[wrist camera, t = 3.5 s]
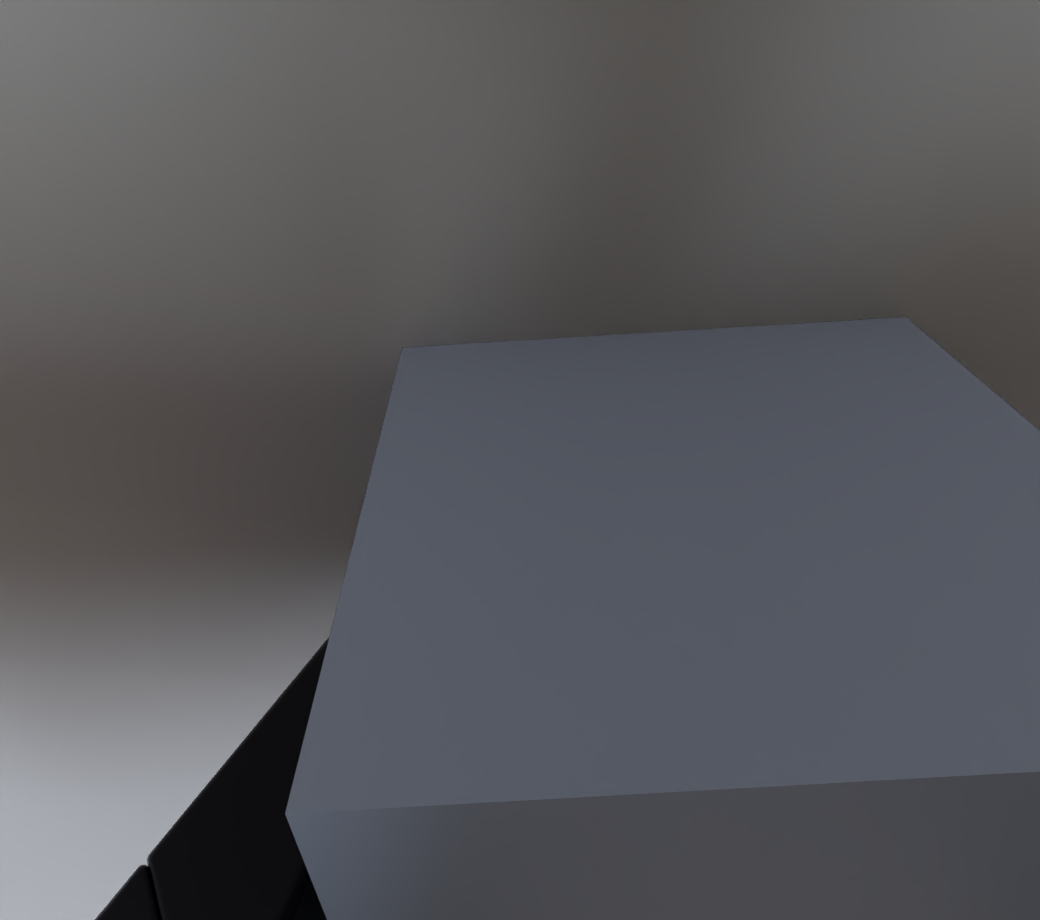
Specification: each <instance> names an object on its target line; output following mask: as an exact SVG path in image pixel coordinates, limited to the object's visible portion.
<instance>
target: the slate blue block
mask: <svg viewBox="0 0 1040 920" xmlns="http://www.w3.org/2000/svg"><path fill="white" fill-rule="evenodd" d="M285 815H286V818H287V820H288V823H289V825H290V828H291V830H292V833H293V835H294V838H295V840H296V843H297V845H298V848H299V850H300V853H301V855H302V858H303V860H304V863H305V866H306V868H307V871H308V873H309V876H310V878H311V881H312V883H313V886H314V888H315V891H316V893H317V896H318V898H319V901H320V903H321V906H322V908H323V911H324V913H325V916H326V918H327V920H1040V431H1039V430H1038V429H1037V428H1036V427H1035V426H1034V425H1032V424H1031V423H1030V422H1029V421H1028V420H1027V419H1025V418H1024V417H1023V416H1022V415H1021V414H1019V413H1018V412H1017V411H1016V410H1015V409H1014V408H1012V407H1011V406H1010V405H1009V404H1008V403H1007V402H1005V401H1004V400H1003V399H1002V398H1001V397H999V396H998V395H997V394H996V393H995V392H994V391H992V390H991V389H990V388H989V387H988V386H987V385H985V384H984V383H983V382H982V381H981V380H979V379H978V378H977V377H976V376H975V375H974V374H972V373H971V372H970V371H969V370H968V369H967V368H965V367H964V366H963V365H962V364H961V363H959V362H958V361H957V360H956V359H955V358H954V357H952V356H951V355H950V354H949V353H948V352H947V351H945V350H944V349H943V348H942V347H941V346H939V345H938V344H937V343H936V342H935V341H934V340H932V339H931V338H930V337H929V336H928V335H927V334H925V333H924V332H923V331H922V330H921V329H919V328H918V327H917V326H916V325H915V324H914V323H912V322H911V321H910V320H909V319H908V318H907V317H896V318H880V319H863V320H847V321H830V322H814V323H797V324H781V325H764V326H748V327H731V328H715V329H698V330H682V331H665V332H649V333H632V334H616V335H599V336H583V337H566V338H550V339H533V340H517V341H500V342H484V343H467V344H451V345H434V346H418V347H402V351H401V355H400V359H399V363H398V367H397V371H396V375H395V379H394V382H393V386H392V390H391V394H390V398H389V402H388V406H387V410H386V414H385V418H384V422H383V426H382V430H381V434H380V438H379V442H378V446H377V450H376V454H375V458H374V462H373V466H372V470H371V474H370V478H369V482H368V486H367V490H366V494H365V498H364V502H363V506H362V510H361V514H360V518H359V522H358V526H357V530H356V534H355V538H354V542H353V546H352V549H351V553H350V557H349V561H348V565H347V569H346V573H345V577H344V581H343V585H342V589H341V593H340V597H339V601H338V605H337V609H336V613H335V617H334V621H333V625H332V629H331V633H330V637H329V641H328V645H327V649H326V653H325V657H324V661H323V665H322V669H321V673H320V677H319V681H318V685H317V689H316V693H315V697H314V701H313V705H312V709H311V712H310V716H309V720H308V724H307V728H306V732H305V736H304V740H303V744H302V748H301V752H300V756H299V760H298V764H297V768H296V772H295V776H294V780H293V784H292V788H291V792H290V796H289V800H288V804H287V808H286V812H285Z"/></svg>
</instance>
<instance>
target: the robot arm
mask: <svg viewBox="0 0 1040 920" xmlns="http://www.w3.org/2000/svg"><path fill="white" fill-rule="evenodd" d="M329 637H330V636H329ZM328 641H329V638H328V639H327V640H326V641H325V642H324V644H323V645H322V646H321V647H320V649H319V650H318V651H317V652H316V653H315V655H314V656H313V657H312V658H311V659H310V661H309V662H308V663H307V664H306V665H305V667H304V668H303V669H302V670H301V672H300V673H299V674H298V675H297V676H296V678H295V679H294V680H293V681H292V682H291V684H290V685H289V686H288V687H287V689H286V690H285V691H284V692H283V693H282V695H281V696H280V697H279V698H278V699H277V701H276V702H275V703H274V704H273V705H272V707H271V708H270V709H269V710H268V712H267V713H266V714H265V715H264V716H263V718H262V719H261V720H260V721H259V722H258V724H257V725H256V726H255V727H254V728H253V730H252V731H251V732H250V733H249V735H248V736H247V737H246V738H245V739H244V741H243V742H242V743H241V744H240V745H239V747H238V748H237V749H236V750H235V752H234V753H233V754H232V755H231V756H230V758H229V759H228V760H227V761H226V762H225V764H224V765H223V766H222V767H221V768H220V770H219V771H218V772H217V773H216V775H215V776H214V777H213V778H212V779H211V781H210V782H209V783H208V784H207V785H206V787H205V788H204V789H203V790H202V791H201V793H200V794H199V795H198V796H197V798H196V799H195V800H194V801H193V802H192V804H191V805H190V806H189V807H188V808H187V810H186V811H185V812H184V813H183V815H182V816H181V817H180V818H179V819H178V821H177V822H176V823H175V824H174V825H173V827H172V828H171V829H170V830H169V831H168V833H167V834H166V835H165V836H164V838H163V839H162V840H161V841H160V842H159V844H158V845H157V846H156V847H155V848H154V850H153V851H152V852H151V853H150V854H149V856H148V858H147V863H148V866H147V865H141V866H140V867H138V868H137V870H136V871H135V872H134V873H133V875H132V876H131V877H130V878H129V879H128V881H127V882H126V883H125V884H124V885H123V887H122V888H121V889H120V890H119V891H118V893H117V894H116V895H115V896H114V898H113V899H112V900H111V901H110V902H109V904H108V905H107V906H106V907H105V908H104V910H103V911H102V912H101V913H100V914H99V915H98V917H97V918H96V919H95V920H327V918H326V916H325V913H324V911H323V908H322V906H321V903H320V901H319V898H318V896H317V893H316V891H315V888H314V886H313V883H312V881H311V878H310V876H309V873H308V871H307V868H306V866H305V863H304V860H303V858H302V855H301V853H300V850H299V848H298V845H297V843H296V840H295V838H294V835H293V833H292V830H291V828H290V825H289V823H288V820H287V818H286V815H285V812H286V808H287V804H288V800H289V796H290V792H291V788H292V784H293V780H294V776H295V772H296V768H297V764H298V760H299V756H300V752H301V748H302V744H303V740H304V736H305V732H306V728H307V724H308V720H309V716H310V712H311V709H312V705H313V701H314V697H315V693H316V689H317V685H318V681H319V677H320V673H321V669H322V665H323V661H324V657H325V653H326V649H327V645H328Z"/></svg>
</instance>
